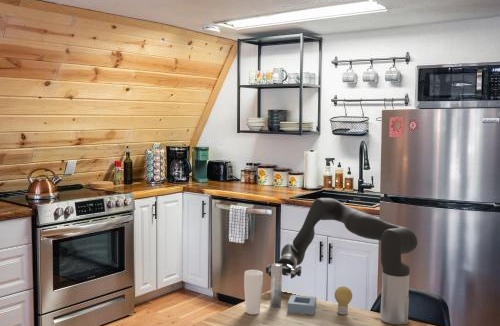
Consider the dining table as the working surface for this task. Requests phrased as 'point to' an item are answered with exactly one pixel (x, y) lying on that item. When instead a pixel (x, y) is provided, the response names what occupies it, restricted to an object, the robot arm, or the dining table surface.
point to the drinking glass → (253, 291)
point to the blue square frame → (301, 304)
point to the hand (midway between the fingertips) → (281, 275)
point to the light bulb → (343, 299)
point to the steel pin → (276, 285)
